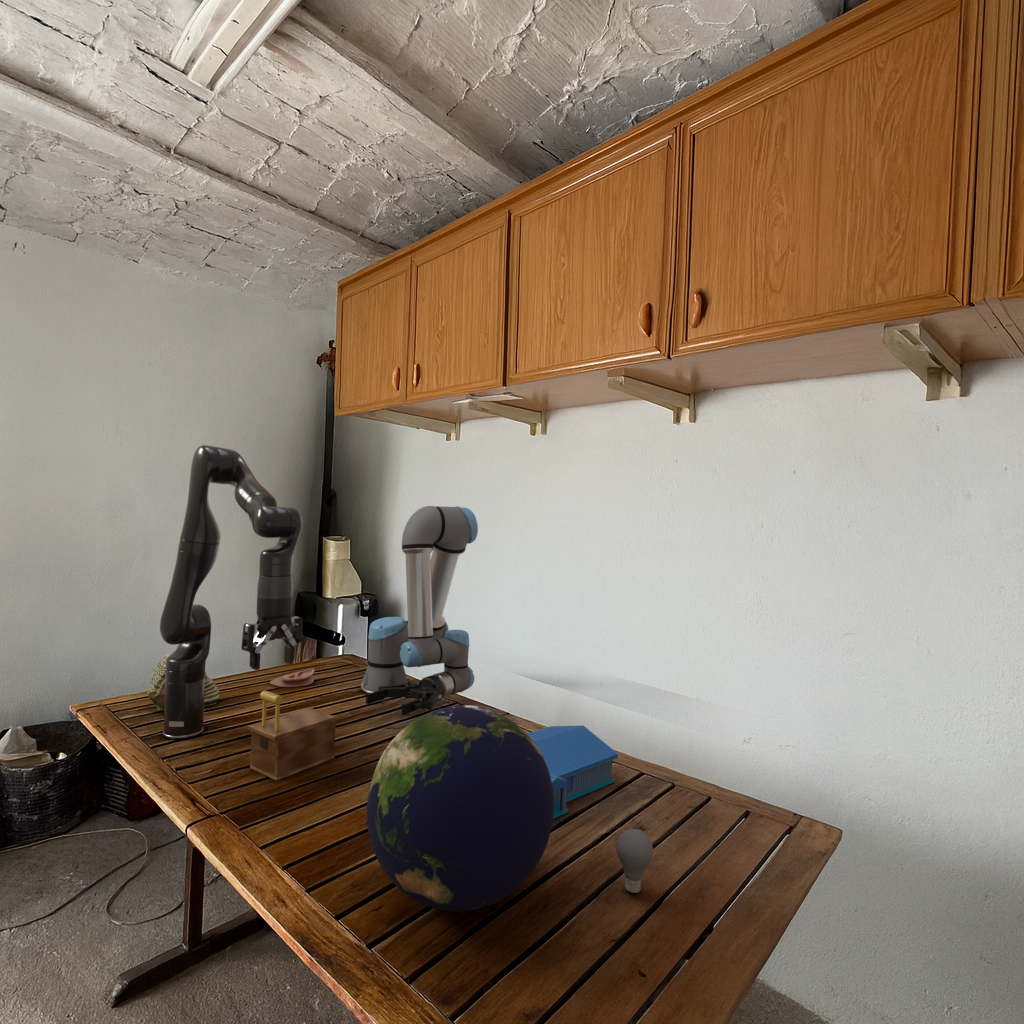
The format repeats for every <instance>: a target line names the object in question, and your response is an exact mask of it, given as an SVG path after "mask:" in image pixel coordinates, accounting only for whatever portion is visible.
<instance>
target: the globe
mask: <svg viewBox="0 0 1024 1024" xmlns="http://www.w3.org/2000/svg"><path fill="white" fill-rule="evenodd" d="M527 733H528V732H526V731H525V730H524V729H523V728H522V727H521V726H520V725H518V723H516V722H514V721H513V720H512V719H510V718H508V717H507V716H505V715H503V714H501V713H499V712H497V711H494V710H493V709H489V708H485V707H482V706H477V705H469V704H468V705H467V704H465V705H452V706H446V707H442V708H438V709H435V710H431V711H429V712H428V713H425V714H423V715H422V716H419V717H417V718H416V719H415V720H413V721H411V722H409V724H407V725H406V726H405V727H404V728H402V729H401V731H399V733H398V734H396V736H395V737H394V738H393V739H392V740H391V741H390V742H389V743H388V745H387V747H385V749H384V751H382V754H381V755H380V758H379V760H378V762H377V763H376V766H375V769H374V771H373V774H372V777H371V780H370V783H369V787H368V788H369V789H368V794H367V801H366V822H367V832H368V836H369V840H370V844H371V847H372V851H373V853H374V855H375V857H376V859H377V861H378V864H379V865H380V867H381V869H382V870H383V872H384V873H385V875H386V876H387V877H388V878H389V880H390V881H391V883H393V884H394V885H395V886H396V887H397V888H398V890H400V891H401V892H402V893H404V894H405V895H406V896H408V897H409V898H410V899H412V900H413V901H415V902H417V903H419V904H421V905H424V906H426V907H428V908H429V907H430V908H431V909H436V910H439V911H445V912H455V913H456V912H471V911H475V910H479V909H483V908H486V907H489V906H491V905H494V904H496V903H499V902H500V901H502V900H503V899H505V898H506V897H508V896H509V895H511V894H512V893H514V892H515V891H516V890H517V889H518V888H519V887H520V886H522V885H523V884H524V882H526V880H527V879H528V878H529V877H530V875H532V873H533V871H534V870H535V869H536V867H537V866H538V864H539V863H540V860H541V859H542V857H543V855H544V853H545V850H546V848H547V846H548V843H549V841H550V837H551V833H552V827H553V823H554V819H553V816H554V794H553V786H552V782H551V777H550V774H549V770H548V767H547V765H546V763H545V760H544V757H543V755H542V753H541V752H540V750H539V748H538V747H537V745H536V744H535V742H534V741H533V740H532V739H531V737H530V736H529V735H528V734H527Z"/></svg>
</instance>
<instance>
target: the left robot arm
mask: <svg viewBox="0 0 1024 1024" xmlns="http://www.w3.org/2000/svg"><path fill="white" fill-rule="evenodd" d="M188 483H189V484H188V495H187V503H186V509H185V513H184V519H183V525H182V528H181V533H180V537H179V542H178V546H177V547H178V548H177V552H176V553H177V554H176V559H175V565H174V569H173V573H172V577H171V578H172V579H171V583H170V587H169V591H168V594H167V596H166V600H165V604H164V606H163V610H162V613H161V616H160V621H159V632H160V636H161V638H162V641H164V642H165V643H166V644H168V645H173V646H174V645H175V646H176V645H178V646H176V648H175V650H174V651H173V652H172V653H170V654H169V655H170V656H169V657H168V658H167V660H166V674H165V705H164V710H163V731H162V737H164V738H166V739H169V740H185V739H190V738H191V739H192V738H194V737H197V736H199V735H202V734H203V732H204V730H205V729H204V722H205V721H204V718H205V706H204V693H205V672H206V664H207V663H206V662H207V659H208V657H209V654H210V649H211V648H210V647H211V639H212V617H211V614H210V612H209V610H208V609H207V608H206V607H205V606H204V605H201V604H196V603H195V604H194V602H195V599H196V595H197V593H198V591H199V588H200V587H201V585H202V583H203V582H204V581H205V579H206V578H207V577H208V575H209V574H210V572H211V570H212V569H213V567H214V566H215V563H216V561H217V559H218V555H219V549H220V544H221V538H222V535H221V529H220V527H219V525H218V522H217V520H216V517H215V516H214V513H213V511H212V509H211V506H210V501H209V490H210V484H219V485H230V486H232V487H234V493H233V494H234V495H233V496H234V499H235V502H236V504H237V505H238V506H239V508H240V509H241V510H243V512H244V513H245V515H247V516H248V518H249V521H250V524H251V527H252V530H253V532H254V533H255V534H256V535H257V536H259V537H260V538H264V539H278V541H277V543H276V544H275V545H274V546H271V547H267V548H265V549H262V550H261V551H260V554H259V568H258V569H259V570H258V579H257V591H256V616H257V617H256V618H257V620H256V623H248V622H245V623H243V625H242V626H243V627H242V636H241V637H242V638H241V646H240V647H241V649H240V650H242V651H244V652H248V653H249V667H250V668H251V670H253V671H258V670H260V669H261V651H262V649H263V647H264V646H266V645H267V644H268V642H269V641H270V642H272V641H275V640H282V641H283V642H284V644H285V645H284V652H283V653H284V655H283V656H284V657H283V659H284V661H283V662H285V663H288V664H291V663H293V662H294V660H295V649H296V648H295V647H296V646H297V644H299V643H302V642H303V640H304V627H303V624H304V623H303V620H304V619H303V617H301V616H296V615H293V616H292V617H291V615H292V614H293V595H294V594H293V592H294V582H293V560H294V559H293V558H294V555H295V551H296V548H297V545H298V541H299V538H300V536H301V532H302V529H303V518H302V515H301V513H300V511H299V510H298V509H297V508H295V507H292V506H278V501H277V500H276V498H275V497H274V495H272V494H271V493H270V491H268V490H267V489H266V488H265V487H264V486H263V485H262V484H261V483H260V482H259V481H258V480H257V478H256V476H255V475H254V473H253V471H252V470H251V468H250V467H249V465H248V464H247V462H246V460H245V459H244V458H243V456H242V455H241V454H240V452H238V451H236V450H234V449H230V448H226V447H220V446H213V445H207V444H202V445H199V446H198V447H197V448H196V449H195V451H194V454H193V456H192V461H191V466H190V474H189V482H188ZM290 627H291V631H290V629H289V628H290ZM255 633H256V634H255Z"/></svg>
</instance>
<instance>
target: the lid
mask: <svg viewBox="0 0 1024 1024" xmlns="http://www.w3.org/2000/svg"><path fill="white" fill-rule="evenodd" d="M259 698H260V700H262V711H261V721H259V722H255V723H252V724H249V725H247V730H248V731H249V732H251V731H252V732H254V733H257V734H259V735H262V736H264V737H267V738H269V739H272V740H274V741H276V740H279V739H282V738H285V737H288V736H291V735H294V734H297V733H300V732H303V731H306V730H309V729H312V728H315V727H318V726H321V725H324V724H327V723H330V722H333V721H336V720H337V717H336V716H335V715H333V714H332V715H331V714H330V713H327V712H323V711H320V710H318V709H314V708H313V707H306V708H303V709H300V710H295V711H293V712H290V713H286V714H283V715H281V704H282V703H283V701H284V697H283V696H282V695H280V694H277V693H275V692H271V691H268V690H262V691H261V692H260V694H259ZM268 702H269V703H271V704H274V706H275V709H274V710H275V711H274V717H273V718H269V719H267V711H268V710H267V708H268Z"/></svg>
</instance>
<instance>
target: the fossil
mask: <svg viewBox="0 0 1024 1024" xmlns="http://www.w3.org/2000/svg"><path fill="white" fill-rule="evenodd" d="M170 655H171V654H165V655H164V656H163V657H162V658H161V659H160V660H159V662H158V663H157V666H156V667H155V669H154V670H153V672H152V675H151V677H150V680H149V684H148V688H147V697H148V699H149V700H150V701H152V703H153V704H154V706H155V711H158V712H159V711H162V712H163V711H164V705H165V674H166V660H167V658H168V657H169V656H170ZM220 698H221V696H220V690H219V688H218V686H217V685H216V683H215V682H214V681H213V679H212V678H211V677H209V675H208V674H207V672H206V671H205V693H204V707H207V706H213V705H215V704H217V703H218V701H219V699H220Z"/></svg>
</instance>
